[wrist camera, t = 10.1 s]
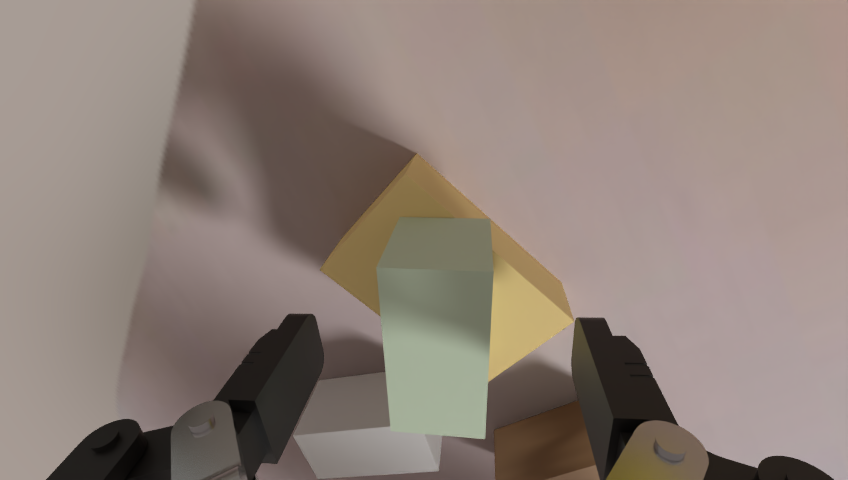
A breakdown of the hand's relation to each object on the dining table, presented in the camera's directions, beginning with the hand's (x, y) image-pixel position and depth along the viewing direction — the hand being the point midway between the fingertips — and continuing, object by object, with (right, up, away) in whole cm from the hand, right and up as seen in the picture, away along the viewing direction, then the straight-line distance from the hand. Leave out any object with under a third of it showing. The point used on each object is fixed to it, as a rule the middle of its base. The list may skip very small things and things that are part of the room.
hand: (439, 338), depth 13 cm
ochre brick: (+1, +2, +5) cm, 6 cm away
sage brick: (0, +1, +2) cm, 2 cm away
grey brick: (-3, -5, +9) cm, 10 cm away
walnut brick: (+6, -7, +8) cm, 12 cm away
